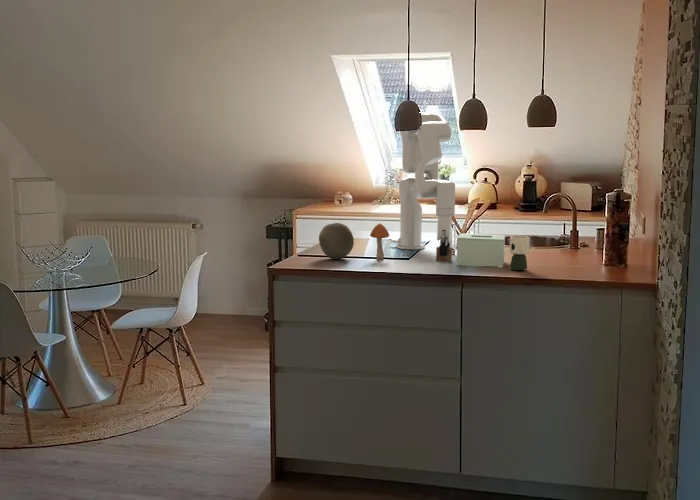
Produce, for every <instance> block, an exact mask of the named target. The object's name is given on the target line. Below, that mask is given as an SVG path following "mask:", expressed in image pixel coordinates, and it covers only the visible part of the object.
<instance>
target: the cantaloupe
mask: <svg viewBox="0 0 700 500" xmlns="http://www.w3.org/2000/svg"><path fill="white" fill-rule="evenodd" d="M318 243H319V246H320V249H321V250H322V253H324V255H325V256H326V257H328V258H329V259H332V260H341V259H344V258H346V257H347V256H348V255H349V254H350V253H351V251H352V250H353V248H354V245H355V241H354V235H353V232H352V231H351V229H350V228H349V226H347V225H345V224H343V223H341V222H333V223H329V224H326V225H324V227H323V228H322V229H321V231H320V232H319V235H318Z"/></svg>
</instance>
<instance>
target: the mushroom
mask: <svg viewBox="0 0 700 500" xmlns="http://www.w3.org/2000/svg"><path fill="white" fill-rule="evenodd" d="M369 236H370V237H371V238H375V239H376V245H377V247H376V259H377V260H378V261H379V260H384V257H385V255H384V254H385V253H384V250H383V239H386V238H389V237H390V234H389V232H388V229H387V228H386V227H385V226H384V225H383V224H382V223H378V224H376V225H375V226H374V227H373V228H372V230H371V231H370V234H369Z"/></svg>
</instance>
